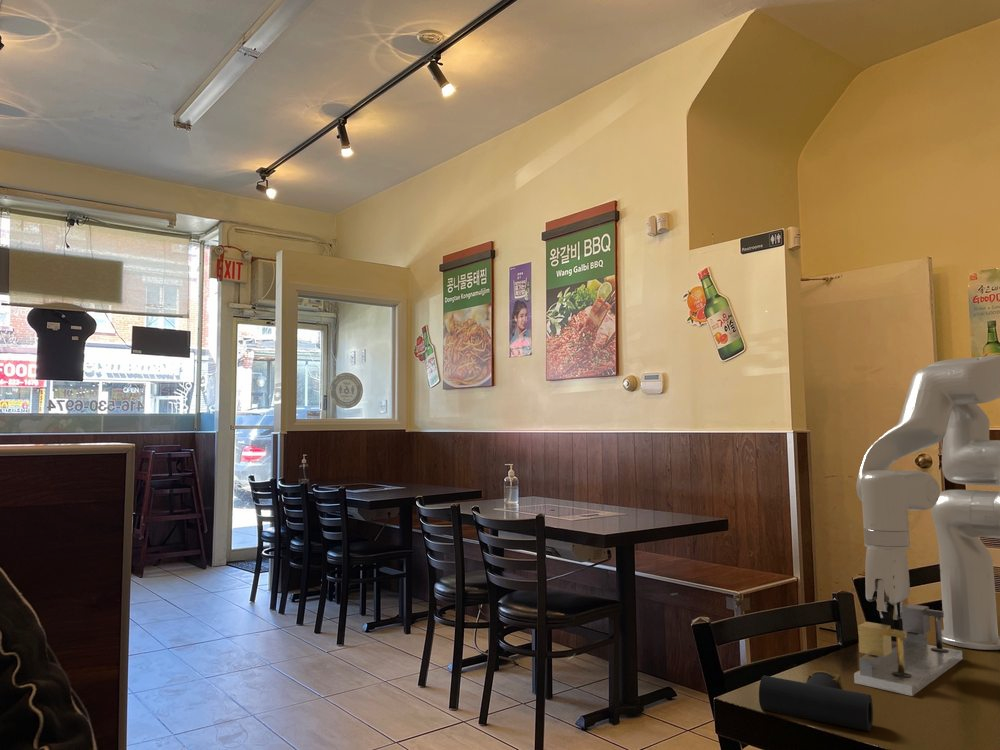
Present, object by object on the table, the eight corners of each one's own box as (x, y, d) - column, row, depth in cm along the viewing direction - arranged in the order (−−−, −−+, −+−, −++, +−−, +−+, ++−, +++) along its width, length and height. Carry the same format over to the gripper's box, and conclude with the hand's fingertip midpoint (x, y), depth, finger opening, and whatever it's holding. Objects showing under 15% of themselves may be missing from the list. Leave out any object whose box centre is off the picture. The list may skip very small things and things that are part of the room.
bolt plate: (910, 649, 143) (909, 627, 143) (962, 659, 136) (961, 635, 137) (854, 683, 122) (853, 656, 123) (912, 696, 116) (910, 668, 116)
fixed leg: (908, 640, 142) (906, 603, 143) (948, 647, 137) (946, 609, 138) (902, 644, 140) (899, 606, 140) (942, 651, 135) (940, 612, 135)
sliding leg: (868, 662, 127) (866, 621, 128) (911, 671, 122) (909, 628, 123) (860, 667, 124) (858, 625, 125) (903, 676, 119) (901, 632, 120)
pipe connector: (778, 660, 119) (878, 676, 110) (779, 692, 118) (880, 712, 109) (758, 679, 109) (865, 699, 101) (759, 715, 109) (868, 738, 100)
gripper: (879, 533, 140) (884, 629, 139) (850, 541, 130) (856, 644, 128) (921, 537, 135) (927, 636, 133) (894, 545, 125) (901, 652, 123)
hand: (892, 640), depth 131 cm, fingers closed
